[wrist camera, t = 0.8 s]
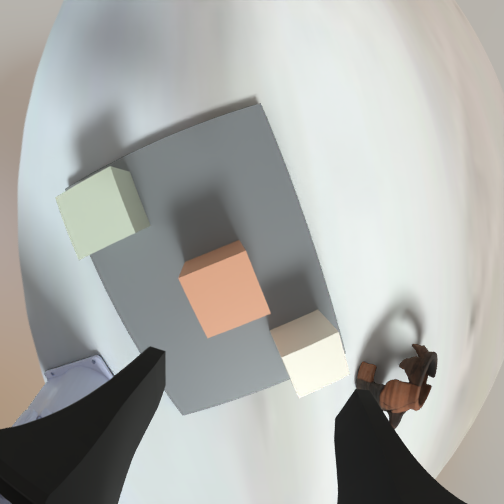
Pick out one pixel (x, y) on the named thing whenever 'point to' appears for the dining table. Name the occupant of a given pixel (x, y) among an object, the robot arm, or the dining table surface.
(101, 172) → the sage cube
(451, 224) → the dining table surface
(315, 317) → the cream cube
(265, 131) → the board
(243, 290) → the terracotta cube
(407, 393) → the dark brown arched piece
